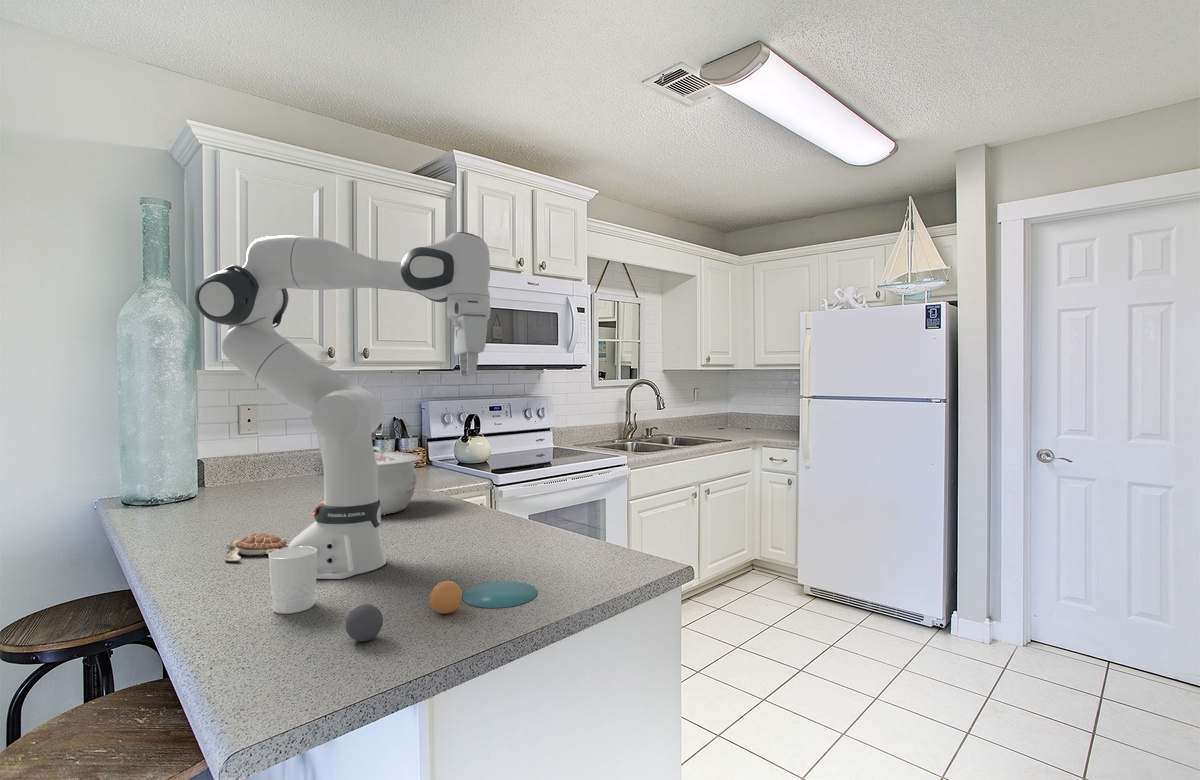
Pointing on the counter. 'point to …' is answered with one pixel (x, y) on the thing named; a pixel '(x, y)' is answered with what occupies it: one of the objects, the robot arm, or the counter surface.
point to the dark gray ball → (364, 622)
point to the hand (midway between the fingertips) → (468, 375)
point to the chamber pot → (395, 479)
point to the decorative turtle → (254, 546)
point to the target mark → (499, 594)
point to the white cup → (293, 578)
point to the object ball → (446, 597)
